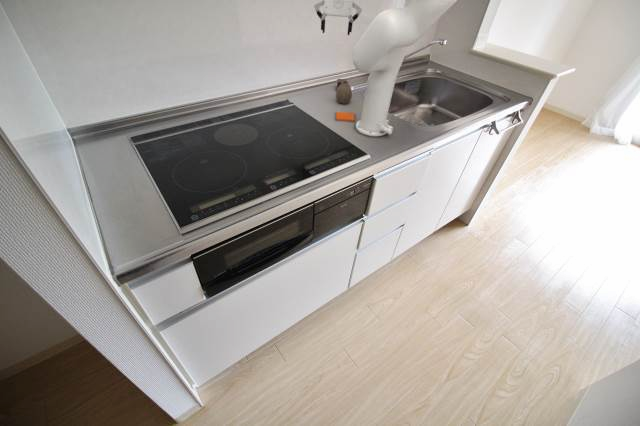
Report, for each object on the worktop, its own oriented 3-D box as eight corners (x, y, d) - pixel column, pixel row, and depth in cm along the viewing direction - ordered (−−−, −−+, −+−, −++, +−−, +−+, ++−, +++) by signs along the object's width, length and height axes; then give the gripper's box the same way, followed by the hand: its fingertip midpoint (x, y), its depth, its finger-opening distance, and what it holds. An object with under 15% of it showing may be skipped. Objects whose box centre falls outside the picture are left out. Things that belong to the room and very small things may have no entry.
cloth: (353, 114, 120) (353, 113, 119) (354, 121, 115) (354, 119, 115) (336, 113, 120) (336, 111, 119) (336, 120, 115) (336, 118, 115)
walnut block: (345, 87, 140) (346, 79, 138) (345, 91, 137) (346, 82, 135) (336, 87, 140) (337, 78, 138) (336, 90, 137) (337, 82, 135)
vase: (351, 106, 126) (353, 85, 120) (335, 105, 126) (337, 84, 120) (350, 99, 131) (352, 79, 125) (335, 98, 131) (337, 78, 125)
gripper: (314, -26, 96) (312, 33, 108) (366, -22, 96) (358, 37, 108) (316, -28, 101) (314, 29, 113) (365, -24, 101) (358, 32, 113)
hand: (335, 33), depth 110 cm, fingers open, 9 cm apart
